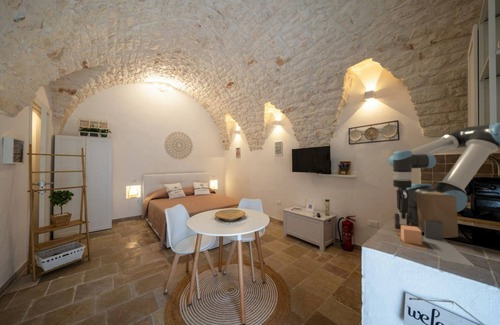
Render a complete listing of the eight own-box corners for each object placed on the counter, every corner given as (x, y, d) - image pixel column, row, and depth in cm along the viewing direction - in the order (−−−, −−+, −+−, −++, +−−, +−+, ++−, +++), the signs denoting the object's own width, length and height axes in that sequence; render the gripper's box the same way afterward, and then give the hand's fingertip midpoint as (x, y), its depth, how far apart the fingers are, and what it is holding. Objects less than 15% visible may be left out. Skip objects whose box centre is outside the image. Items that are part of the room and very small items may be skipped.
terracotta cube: (400, 237, 88) (400, 224, 88) (417, 239, 86) (417, 226, 85) (404, 242, 83) (403, 229, 83) (421, 245, 80) (421, 231, 80)
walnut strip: (392, 229, 101) (392, 212, 101) (411, 231, 97) (411, 214, 97) (403, 247, 80) (403, 227, 80) (428, 252, 76) (427, 230, 76)
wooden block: (459, 237, 87) (456, 195, 85) (437, 239, 87) (434, 198, 86) (437, 228, 97) (435, 191, 95) (418, 230, 97) (415, 193, 96)
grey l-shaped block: (421, 238, 89) (421, 219, 89) (444, 241, 85) (444, 222, 85) (443, 263, 68) (443, 239, 68) (474, 268, 64) (474, 243, 64)
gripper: (390, 178, 106) (390, 218, 107) (396, 181, 93) (397, 227, 93) (407, 178, 103) (407, 220, 103) (416, 181, 89) (416, 229, 90)
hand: (402, 223), depth 98 cm, fingers closed on walnut strip, 2 cm apart
